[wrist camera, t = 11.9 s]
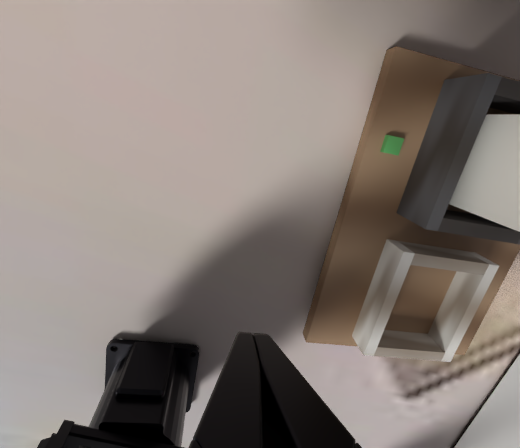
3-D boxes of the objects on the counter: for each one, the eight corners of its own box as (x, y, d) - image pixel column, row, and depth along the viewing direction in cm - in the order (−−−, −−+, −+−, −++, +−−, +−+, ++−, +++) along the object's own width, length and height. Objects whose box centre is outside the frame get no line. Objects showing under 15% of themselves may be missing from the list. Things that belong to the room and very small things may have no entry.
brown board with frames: (455, 346, 26) (495, 385, 22) (302, 333, 23) (317, 374, 20) (578, 102, 19) (663, 99, 16) (386, 50, 17) (432, 31, 13)
